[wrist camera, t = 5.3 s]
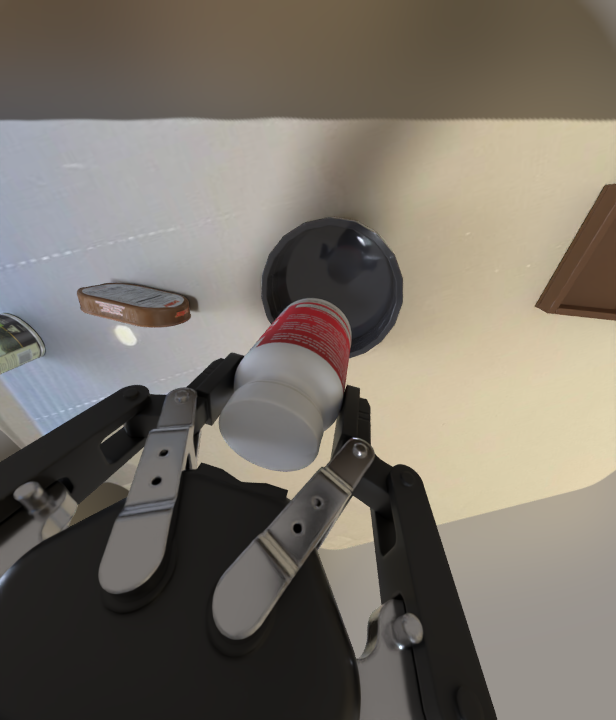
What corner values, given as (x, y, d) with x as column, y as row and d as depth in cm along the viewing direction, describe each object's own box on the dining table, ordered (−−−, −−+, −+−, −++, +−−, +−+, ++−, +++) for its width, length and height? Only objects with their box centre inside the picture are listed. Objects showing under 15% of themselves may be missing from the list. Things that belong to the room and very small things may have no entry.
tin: (118, 295, 39) (64, 312, 32) (113, 275, 38) (54, 289, 31) (202, 314, 38) (165, 336, 31) (200, 294, 36) (160, 314, 29)
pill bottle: (283, 287, 18) (195, 365, 9) (361, 306, 18) (354, 410, 8) (275, 354, 22) (207, 460, 12) (341, 372, 21) (320, 496, 12)
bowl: (303, 189, 26) (292, 185, 23) (428, 261, 28) (437, 268, 24) (258, 311, 36) (245, 323, 32) (353, 362, 37) (352, 379, 33)
